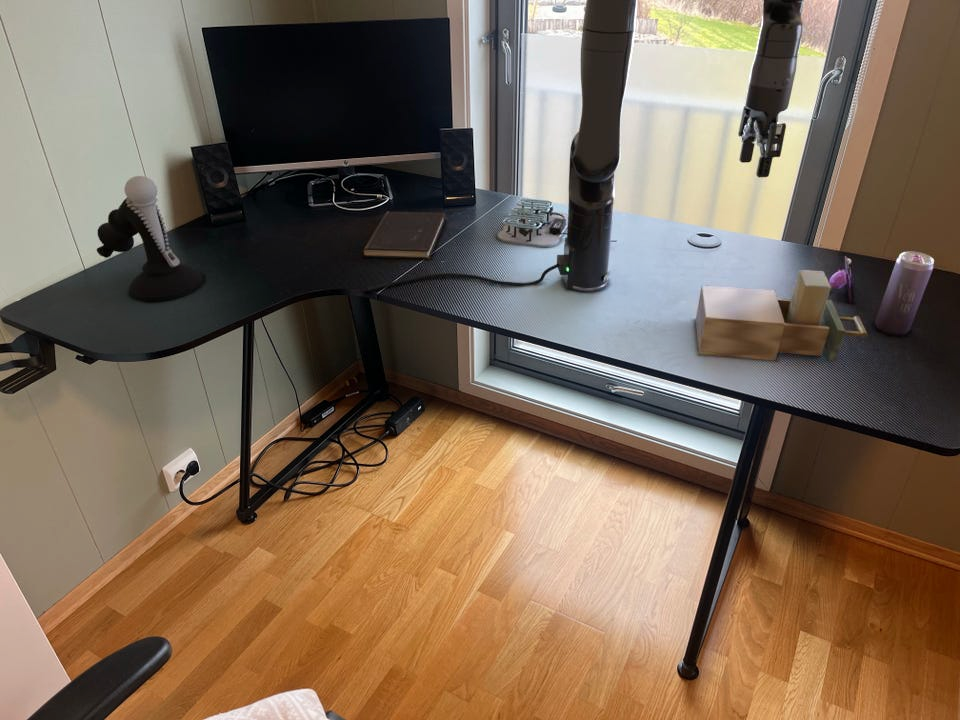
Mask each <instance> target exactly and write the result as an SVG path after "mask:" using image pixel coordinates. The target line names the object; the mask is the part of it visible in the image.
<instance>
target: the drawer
mask: <svg viewBox="0 0 960 720" xmlns="http://www.w3.org/2000/svg"><path fill="white" fill-rule="evenodd" d="M791 299H792V298H779V297H777V300H778V303H779V306H780V309H781V312H782V316H783V319H784V322H785V320H786V317H787V313H788V310H789V306H790V302H791ZM842 322H850V323H853V324H854V326H855V329H856V330H845V327H844V325H843V323H842ZM845 336H852V337H853V336H855V337H860V338H861V339H866V338H868V336H869V335H868V332H867V330H866V328H865V326H864V324H863V322H862V319H861V318H860V316H858V315H854V316H853V317H849V316H839V314H838V312H837V309H836V306H835V305H834V302H833V300H832V299H827V302H826V305H825V308H824V311H823V315H822V318H821V321H820V324H819V326H815V325H802V324H790V323H785V326H784V330H783V334H782V337H781V341H780V345H779V349H778V353H784V354H792V355H793V354H794V355H803V356H804V355H805V356H815V357H816V356H817V357H822V354H823V351H824V350H825V354H826V355H827V358H828V360H830V361H836V360H837V359H838V356H839V352H840V349H841V346H842V342H843V340H844V337H845Z"/></svg>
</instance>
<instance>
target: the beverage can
mask: <svg viewBox="0 0 960 720" xmlns="http://www.w3.org/2000/svg"><path fill="white" fill-rule="evenodd" d="M934 263H935V259H934V257H932V256H931V255H929V254H926V253H924V252H920V251H913V250H911V251H909V250H908V251H902V252H901V253H900V254H899V256H898V257H897V258H896V260H895V264H894V267H893V269H892V272H891V275H890V277H889V281H888V284H887V287H886V289H885V293H884V296H883V298H882V301H881V304H880V307H879V310H878V313H877V315H876V319H875V322H874V323H875V327H876V328H877V329H878V330H879V331H880V332H882V333H884V334H887V335H892V336H903V335H905V334H907V333H908V332H909V331H910V330H911V327H912V324H913V322H914V320H915V317H916V315H917V312H918V310H919V306H920V304H921V302H922V298H923V296H924V294H925V290H926V288H927V285H928V283H929V280H930V278H931V275H932V272H933V269H934Z"/></svg>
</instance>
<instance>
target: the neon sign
mask: <svg viewBox="0 0 960 720" xmlns="http://www.w3.org/2000/svg"><path fill="white" fill-rule="evenodd" d="M519 202H520V203H519ZM515 203H516V205H517V206H518V207H517V206H516V207H511V208H510V212H511V213H508V214H507V217H505V218H504V219H503V220H502V224H503V227H502V230H500V231H499V232H498V233H497V239H498V240H499V241H501V242H503V243H507V244H514V245H522V246H523V245H524V246H529V247H530V246H531V247H539V248H550V247H554V246H556V245H558V244H559V243H560V240H561V239H560V238H561V237H562V236H563V235H567V232H565V231H566V229H567V226H568V213H567V214H566V213H565V212H560V211H554V204H553V201H550V200H544V199H535V198H534V199H532V198H521V199H518V200H517V201H516V202H515ZM612 242H613V243H617V242H618V240H611V241H610V243H612Z"/></svg>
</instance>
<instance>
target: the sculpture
mask: <svg viewBox="0 0 960 720" xmlns="http://www.w3.org/2000/svg"><path fill="white" fill-rule="evenodd" d="M123 191H124V194H125V197H126V198H125V199H124V200H123V201H122V202H121V203H120V205H119V206H118V208H115V209H112V210H111V211H110V212H109V213H108V216H107V222H104V223H102V224H101V225H99V226H98V228H97V237H98V240H99V242H101V244H102V245H101V246H99V247H97V248H96V253H98V255H99V256H101V257H103V258H105V259H108V258H110V257H111V256H112V255H113V253H114V252H116V253H126V252H129V251H130V250H132V249H133V248H134V245H135V239H134V236H136V235H137V234H138V235H139V237H140V238H141V240H142V244H143V247H144V252H145V257H146V262H144V264H143V265H142V267H141V270H142V271H141V272H139V273H138V274H137V275H136V276H135V278H133V280H132V282H131V283H130V285H129V291H130V294H131V296H132V297H133V298H134V299H136V300H138V301H142V302H149V303H151V302H152V303H154V302H156V303H157V302H166V301H171V300H176V299H179V298H182V297H184V296H187V295H188V294H190V293H193V292H194V291H196V290H197V289H198V288H199V287H200V286H201V285H202V283H203V280H204V279H203V274H202V271H200V269H198V268H196V267H194V266H192V265H190V264H186V263H183V262H181V260H180V259H179V258H178V257H177V256H176V254H174V252H173V250H172V249H171V248H170V246H169V245H170V243H169V242H168V241H169V238H168V234H167V233H168V231H167V226H166V225H165V224H166V223H165V221H163V220H164V218H163V217H162V216H163V214H162V213H160V212H161V209H160V208H159V205H158V204H157V203H158V198H157V195H158V186H157V185H156V183H155V182H154V181H153V179H151V178H149V177H147V176H144V175H137V176H132V177H131V178H129V179H128V180H127V181H126V182H125V185H124V189H123Z"/></svg>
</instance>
